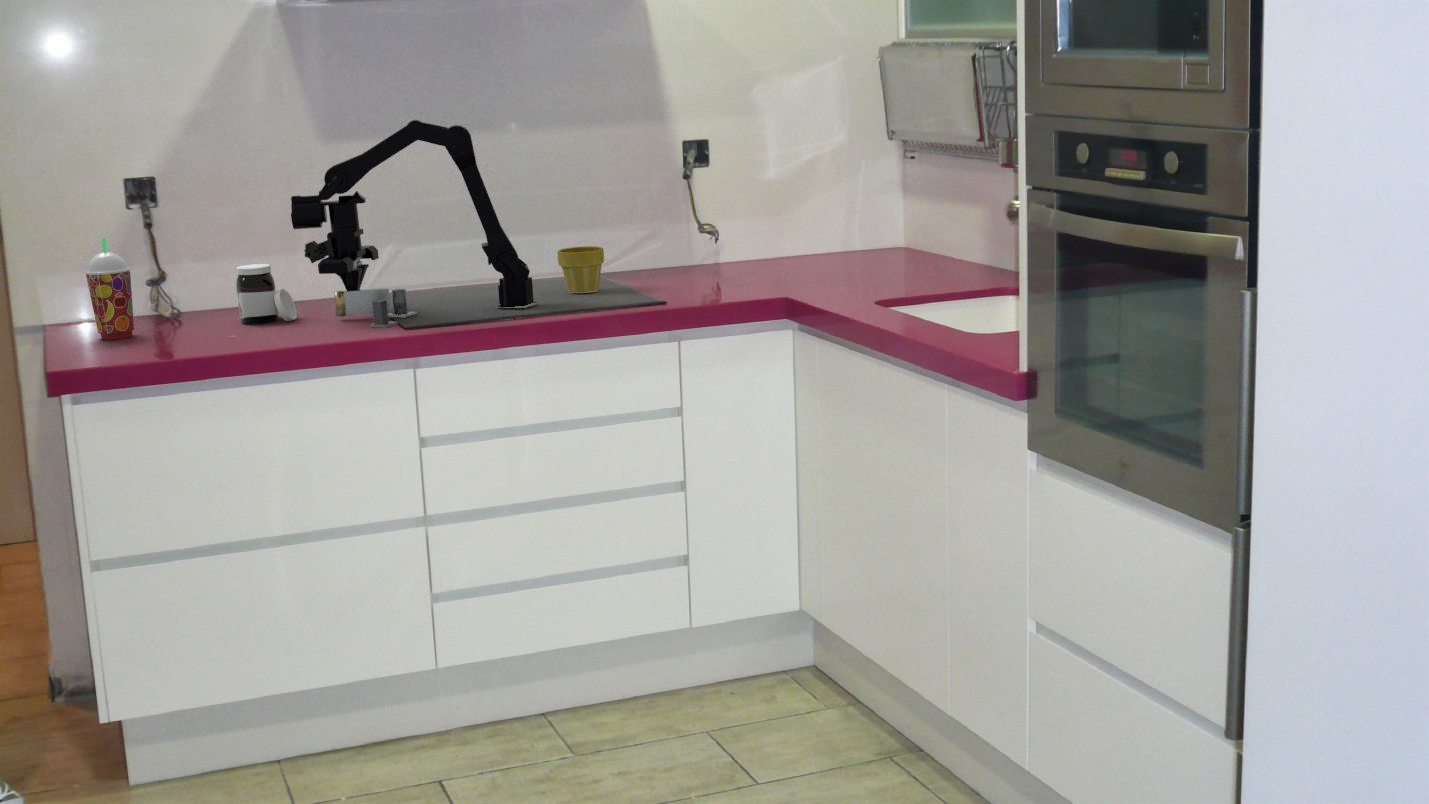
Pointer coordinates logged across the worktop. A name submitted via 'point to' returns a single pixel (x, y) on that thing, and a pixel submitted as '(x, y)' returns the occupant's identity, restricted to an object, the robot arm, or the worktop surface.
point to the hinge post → (399, 302)
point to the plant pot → (581, 267)
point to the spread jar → (261, 296)
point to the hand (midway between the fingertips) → (353, 300)
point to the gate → (359, 301)
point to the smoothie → (111, 294)
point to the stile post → (381, 315)
